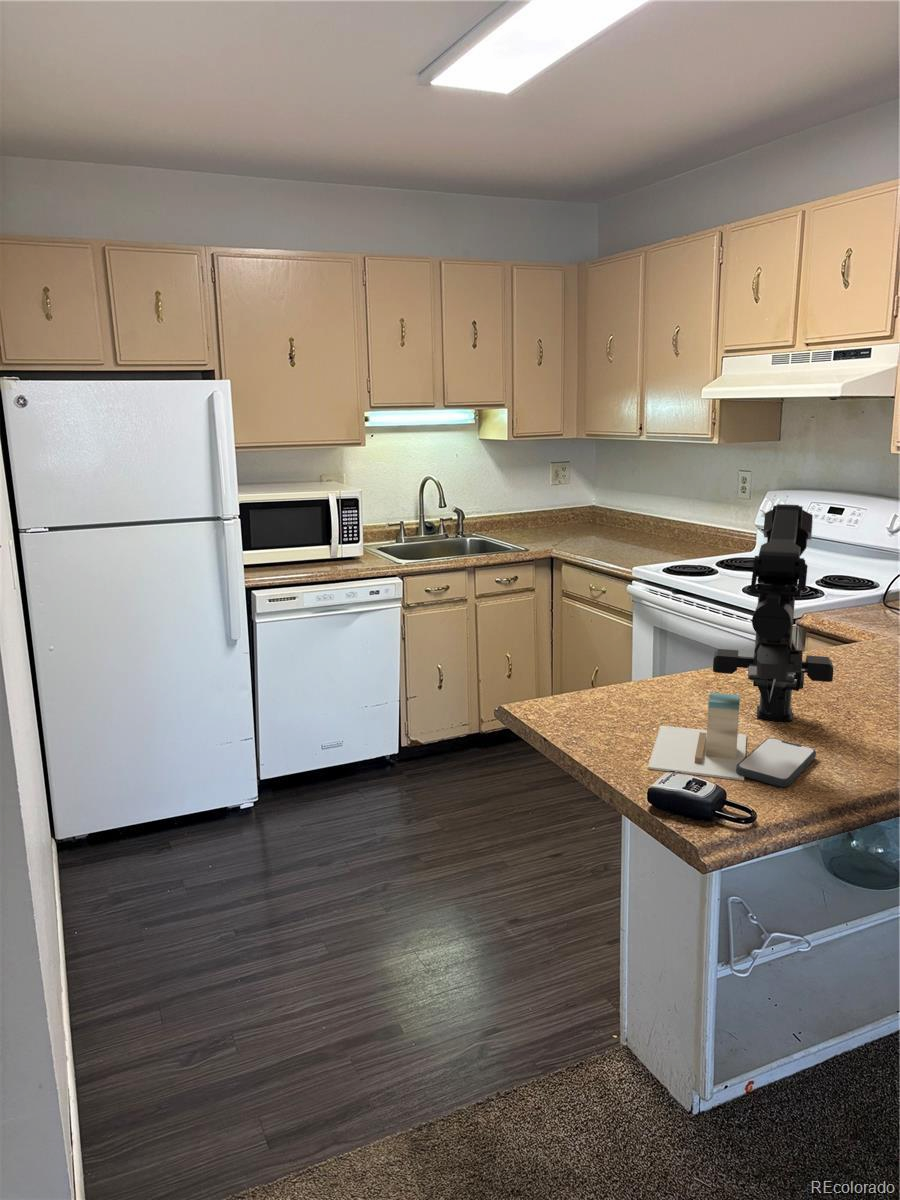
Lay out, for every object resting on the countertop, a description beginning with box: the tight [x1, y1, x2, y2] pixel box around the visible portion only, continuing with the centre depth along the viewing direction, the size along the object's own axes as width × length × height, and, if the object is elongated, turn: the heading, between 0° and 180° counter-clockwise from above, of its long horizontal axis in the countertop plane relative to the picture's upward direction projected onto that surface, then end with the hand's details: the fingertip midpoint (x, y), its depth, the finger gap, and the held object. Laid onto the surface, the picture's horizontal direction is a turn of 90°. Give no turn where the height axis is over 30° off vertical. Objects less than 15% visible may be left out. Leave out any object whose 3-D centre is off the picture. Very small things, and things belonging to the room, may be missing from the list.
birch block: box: [706, 692, 741, 760], centre depth 150 cm, size 5×5×10 cm
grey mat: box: [647, 725, 747, 782], centre depth 152 cm, size 20×16×1 cm
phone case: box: [736, 737, 817, 788], centre depth 145 cm, size 9×2×16 cm
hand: (768, 712), depth 147 cm, fingers closed
